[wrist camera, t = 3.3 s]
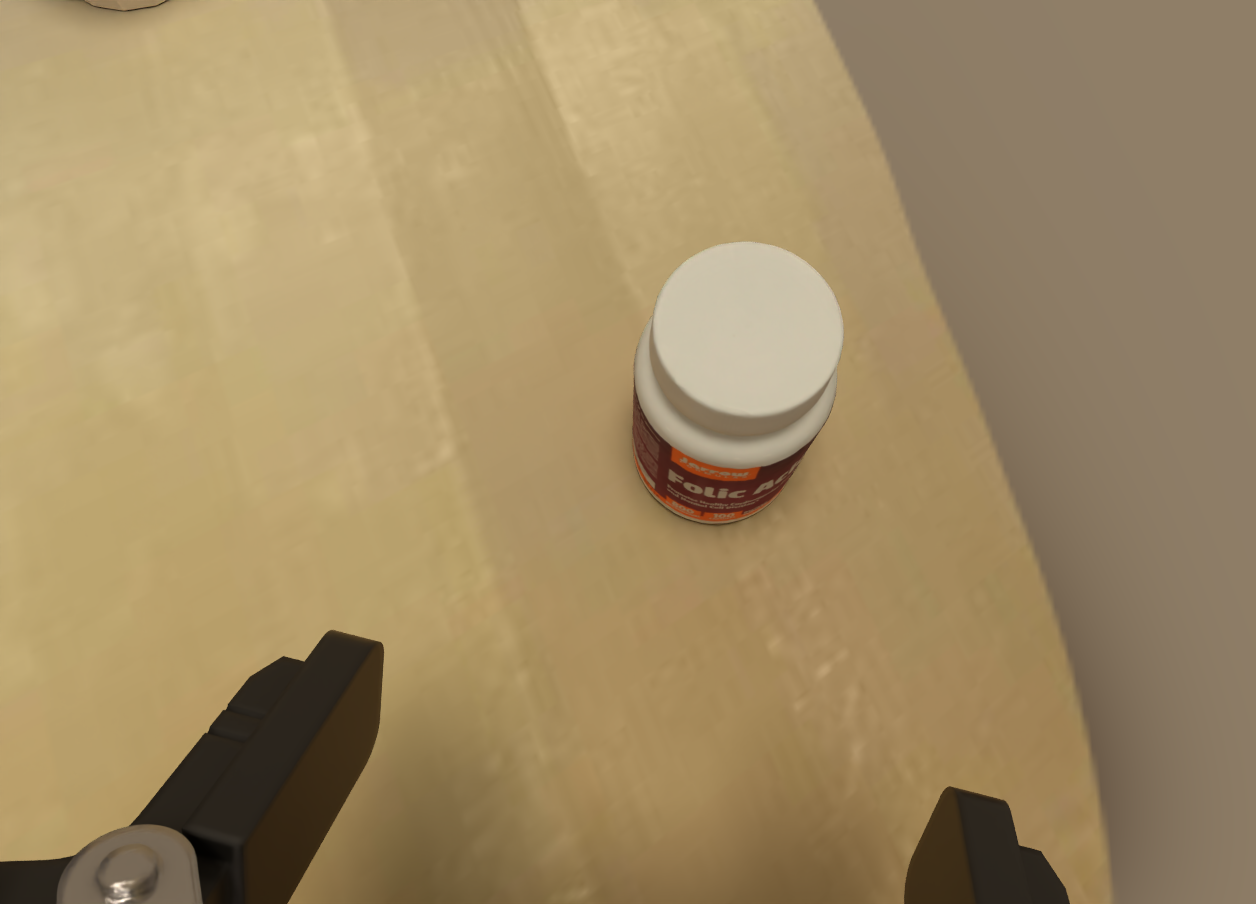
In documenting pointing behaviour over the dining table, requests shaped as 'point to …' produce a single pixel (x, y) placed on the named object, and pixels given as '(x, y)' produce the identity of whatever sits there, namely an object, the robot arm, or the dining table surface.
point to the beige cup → (124, 3)
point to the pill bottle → (733, 379)
